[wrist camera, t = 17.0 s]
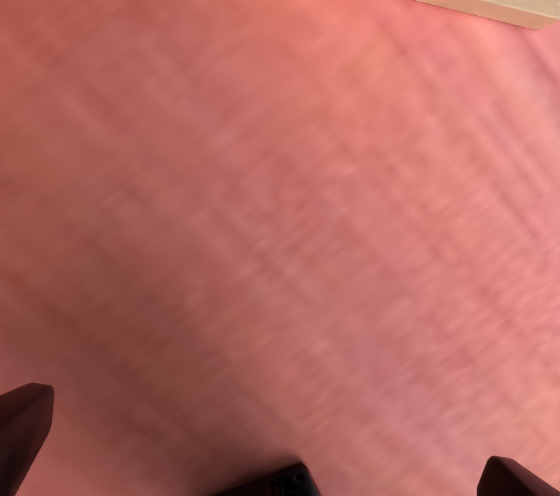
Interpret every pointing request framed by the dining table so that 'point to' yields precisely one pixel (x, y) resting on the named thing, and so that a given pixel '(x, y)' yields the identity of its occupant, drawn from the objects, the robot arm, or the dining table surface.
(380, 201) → the dining table surface
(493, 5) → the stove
